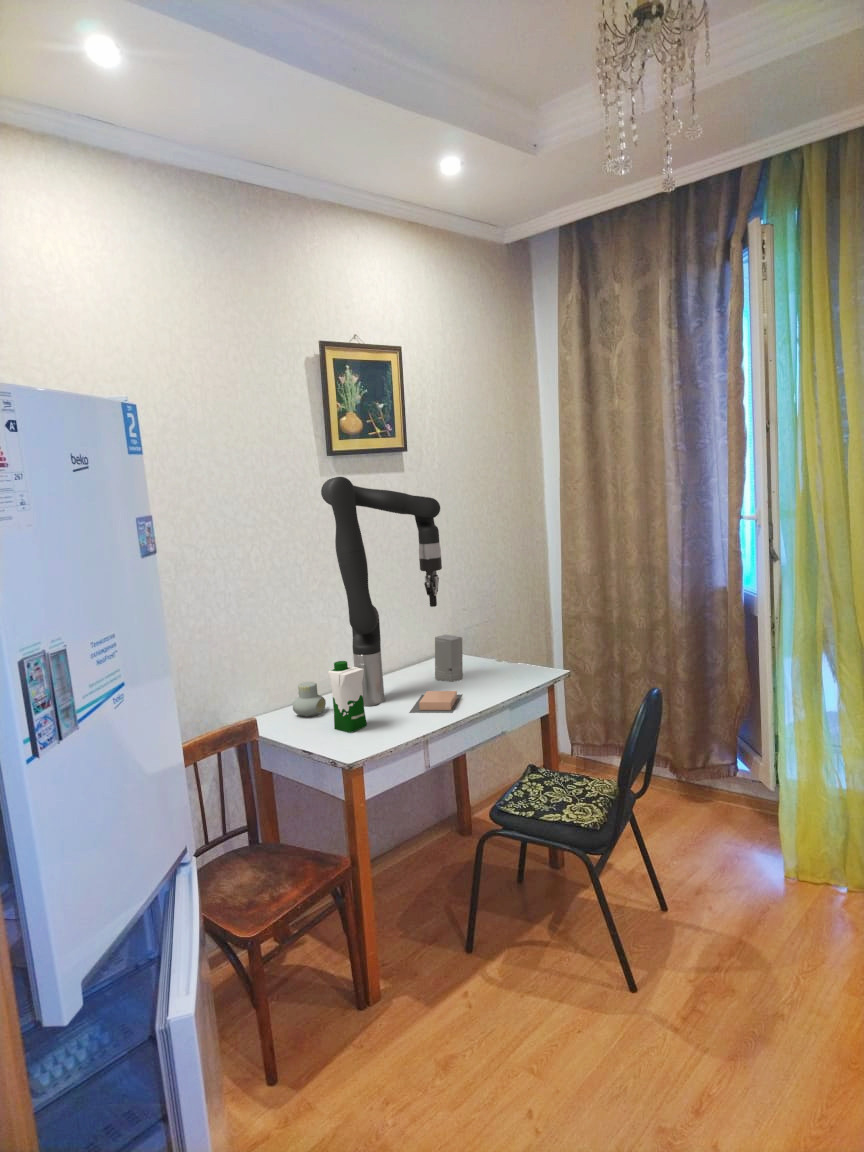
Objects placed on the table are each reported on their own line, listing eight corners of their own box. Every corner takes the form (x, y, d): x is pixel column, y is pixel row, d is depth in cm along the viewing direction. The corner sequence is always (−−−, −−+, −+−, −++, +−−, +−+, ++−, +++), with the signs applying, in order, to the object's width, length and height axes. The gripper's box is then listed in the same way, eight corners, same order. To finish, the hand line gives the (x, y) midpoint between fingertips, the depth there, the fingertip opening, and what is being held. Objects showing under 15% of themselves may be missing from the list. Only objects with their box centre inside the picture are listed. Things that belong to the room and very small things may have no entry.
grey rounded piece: (314, 719, 239) (311, 689, 238) (290, 719, 241) (287, 688, 240) (328, 708, 249) (326, 679, 248) (305, 708, 252) (303, 679, 250)
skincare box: (434, 680, 275) (432, 637, 273) (447, 675, 280) (444, 633, 278) (452, 683, 269) (450, 639, 267) (465, 678, 275) (462, 635, 273)
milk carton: (351, 721, 235) (345, 658, 232) (371, 726, 229) (366, 661, 226) (329, 729, 229) (324, 665, 226) (350, 734, 223) (345, 668, 220)
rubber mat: (409, 713, 238) (409, 712, 238) (422, 695, 257) (422, 694, 257) (452, 714, 235) (452, 712, 235) (462, 695, 254) (462, 694, 254)
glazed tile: (427, 699, 251) (419, 710, 240) (427, 691, 251) (419, 702, 239) (457, 698, 249) (450, 710, 238) (456, 691, 249) (450, 702, 237)
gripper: (423, 554, 265) (426, 603, 268) (415, 559, 253) (418, 610, 255) (444, 553, 264) (447, 602, 266) (437, 558, 251) (440, 609, 253)
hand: (433, 606), depth 261 cm, fingers closed
